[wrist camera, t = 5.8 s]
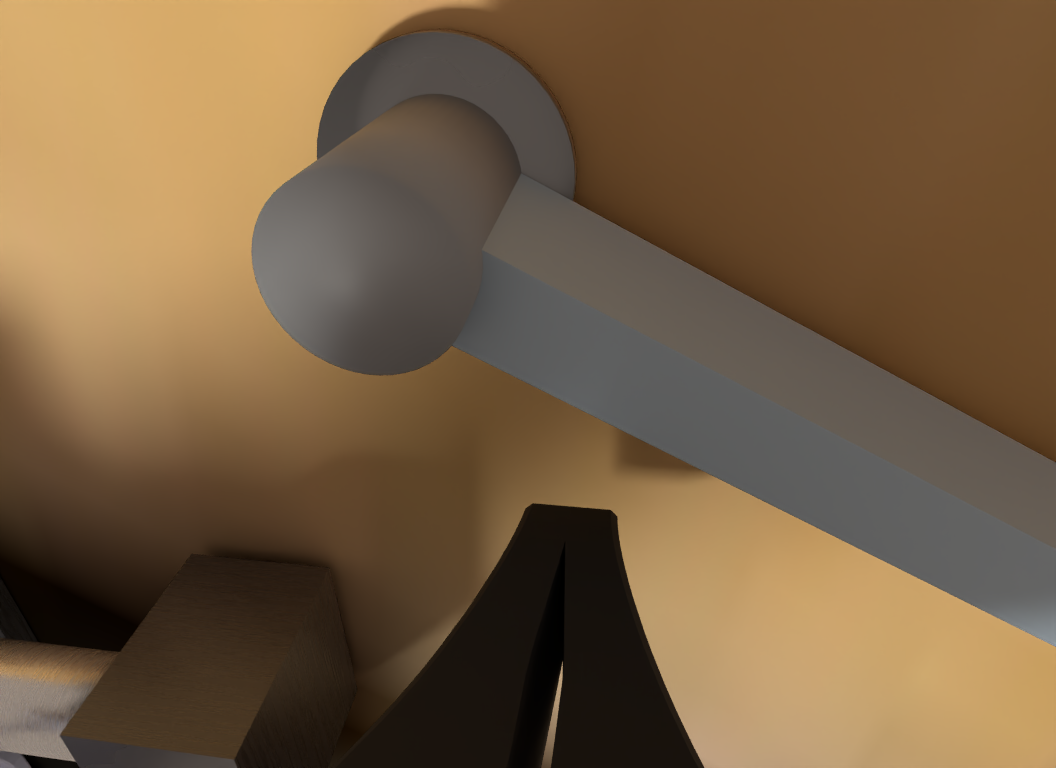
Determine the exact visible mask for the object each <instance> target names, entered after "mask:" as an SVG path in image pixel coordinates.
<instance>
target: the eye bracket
mask: <svg viewBox="0 0 1056 768" xmlns="http://www.w3.org/2000/svg"><path fill="white" fill-rule="evenodd" d="M0 638H7V639H15V640H23V641H31V642H38V641H37V639H36V638H35V636H34V634H33V632H32V631H31V629H30V627H29V626H28V624H27V622H26V620H25V619H24V617H23V615H22V614H21V612H20V610H19V609H18V607H17V605H16V603H15V602H14V600H13V598H12V597H11V595H10V593H9V591H8V590H7V588H6V586H5V585H4V583H3V581H2V579H1V578H0Z"/></svg>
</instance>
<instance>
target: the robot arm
mask: <svg viewBox="0 0 1056 768" xmlns="http://www.w3.org/2000/svg"><path fill="white" fill-rule="evenodd" d="M562 661H563V680H562V688H561V696H560V703H559V711H558V719H557V727H556V734H555V742H554V749H553V756H552V764H551V768H704V766H703V764H702V762H701V760H700V758H699V756H698V754H697V753H696V751H695V749H694V747H693V745H692V743H691V740H690V738H689V736H688V734H687V732H686V730H685V728H684V726H683V724H682V722H681V720H680V718H679V715H678V713H677V711H676V709H675V707H674V704H673V702H672V700H671V698H670V695H669V693H668V691H667V688H666V686H665V684H664V681H663V679H662V676H661V674H660V671H659V669H658V666H657V664H656V661H655V659H654V656H653V654H652V651H651V649H650V646H649V643H648V641H647V638H646V635H645V632H644V629H643V626H642V623H641V620H640V617H639V614H638V611H637V608H636V605H635V602H634V599H633V596H632V592H631V589H630V585H629V582H628V578H627V574H626V570H625V566H624V562H623V557H622V552H621V548H620V541H619V534H618V524H617V516H616V515H615V514H614V513H613V512H612V511H611V510H604V509H592V508H581V507H569V506H557V505H545V504H534V503H533V504H531V505H530V506H528V507H527V508H526V509H525V511H524V514H523V516H522V518H521V521H520V523H519V525H518V527H517V529H516V531H515V533H514V535H513V537H512V539H511V540H510V542H509V544H508V546H507V548H506V549H505V551H504V553H503V555H502V556H501V558H500V560H499V561H498V563H497V565H496V567H495V568H494V570H493V571H492V573H491V574H490V576H489V578H488V579H487V581H486V582H485V584H484V585H483V587H482V588H481V590H480V591H479V593H478V595H477V596H476V598H475V599H474V601H473V602H472V604H471V605H470V607H469V608H468V610H467V611H466V612H465V614H464V615H463V616H462V618H461V619H460V621H459V622H458V623H457V625H456V626H455V627H454V629H453V630H452V631H451V633H450V634H449V635H448V637H447V638H446V639H445V641H444V642H443V644H442V645H441V646H440V648H439V649H438V650H437V652H436V653H435V654H434V655H433V657H432V658H431V659H430V660H429V662H428V663H427V664H426V665H425V667H424V668H423V669H422V670H421V671H420V673H419V674H418V675H417V676H416V677H415V679H414V680H413V681H412V682H411V683H410V684H409V686H408V687H407V688H406V689H405V690H404V691H403V693H402V694H401V695H400V696H399V697H398V698H397V699H396V701H395V702H394V703H393V704H392V705H391V706H390V707H389V708H388V709H387V711H386V712H385V713H384V714H383V715H382V716H381V717H380V718H379V719H378V720H377V721H376V722H375V723H374V724H373V725H372V726H371V727H370V728H369V730H368V731H367V732H366V733H365V734H364V735H363V736H362V737H361V738H360V739H359V740H358V741H357V742H356V743H355V744H354V745H353V746H352V747H351V748H350V749H349V750H348V751H347V752H346V753H345V754H344V755H343V756H342V757H341V758H340V759H339V760H338V761H337V762H336V763H335V764H334V765H333V766H332V767H331V768H541V765H542V760H543V755H544V751H545V746H546V741H547V736H548V731H549V726H550V721H551V716H552V711H553V706H554V701H555V696H556V691H557V686H558V681H559V676H560V671H561V666H562ZM0 768H32V767H31V766H30V765H29V763H28V762H27V760H26V759H25V757H24V756H23V755H22V754H19V753H12V752H5V751H0Z"/></svg>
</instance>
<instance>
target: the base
mask: <svg viewBox="0 0 1056 768" xmlns="http://www.w3.org/2000/svg"><path fill="white" fill-rule="evenodd" d="M425 94H445V95H450V96H455V97H458V98H461V99H464V100H466V101H469V102H471V103H473V104H475V105H476V106H478V107H479V108H481V109H483V110H484V111H485V112H487V113H488V114H489V115H490V116H491V117H493V118H494V119H495V120H496V122H497V123H498V124H499V125H500V126H501V127H502V128H503V130H504V131H505V132H506V134H507V135H508V137H509V139H510V140H511V142H512V144H513V146H514V148H515V151H516V153H517V156H518V159H519V163H520V167H521V173H522V174H524V175H526V176H527V177H529V178H531V179H533V180H535V181H537V182H538V183H540V184H542V185H544V186H546V187H548V188H550V189H551V190H553V191H555V192H557V193H559V194H561V195H562V196H564V197H566V198H568V199H570V200H572V201H573V199H574V195H575V189H576V178H577V168H576V154H575V148H574V143H573V138H572V135H571V132H570V128H569V125H568V122H567V120H566V118H565V115H564V113H563V111H562V109H561V107H560V105H559V103H558V101H557V100H556V98H555V97H554V95H553V93H552V92H551V90H550V89H549V87H548V86H547V85H546V84H545V83H544V81H543V80H542V79H541V78H540V76H539V75H538V74H537V73H536V72H535V71H534V70H533V69H532V68H531V67H530V66H529V65H527V64H526V63H525V62H524V61H523V60H522V59H520V58H519V57H518V56H516V55H515V54H513V53H512V52H511V51H509V50H508V49H506V48H504V47H502V46H500V45H498V44H497V43H495V42H493V41H490V40H488V39H485V38H483V37H480V36H477V35H474V34H470V33H466V32H461V31H456V30H443V29H434V30H421V31H416V32H412V33H408V34H403V35H401V36H398V37H396V38H393V39H391V40H388V41H386V42H384V43H382V44H380V45H378V46H376V47H375V48H373V49H371V50H369V51H368V52H366V53H365V54H364V55H362V56H361V57H360V58H359V59H357V60H356V61H355V62H354V63H353V64H352V65H351V66H350V67H349V68H348V69H347V70H346V71H345V73H344V74H343V75H342V76H341V77H340V79H339V80H338V82H337V83H336V85H335V87H334V88H333V90H332V91H331V94H330V96H329V98H328V100H327V102H326V105H325V107H324V110H323V114H322V117H321V121H320V125H319V132H318V138H317V160H318V159H320V158H321V157H322V156H324V155H325V154H327V153H328V152H329V151H331V150H332V149H334V148H335V147H337V146H338V145H339V144H341V143H342V142H344V141H345V140H346V139H348V138H349V137H351V136H352V135H354V134H355V133H356V132H358V131H359V130H361V129H362V128H363V127H365V126H366V125H368V124H369V123H371V122H372V121H373V120H375V119H376V118H378V117H379V116H380V115H382V114H383V113H385V112H386V111H388V110H389V109H390V108H392V107H393V106H395V105H396V104H398V103H400V102H402V101H404V100H406V99H408V98H411V97H415V96H418V95H425Z"/></svg>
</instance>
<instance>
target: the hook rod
mask: <svg viewBox="0 0 1056 768" xmlns="http://www.w3.org/2000/svg"><path fill="white" fill-rule="evenodd" d="M356 692H357V685H356V681H355V677H354V672H353V668H352V664H351V659H350V655H349V650H348V646H347V642H346V637H345V633H344V629H343V624H342V620H341V616H340V611H339V607H338V603H337V598H336V594H335V589H334V585H333V581H332V576H331V572H330V568H325V567H315V566H306V565H296V564H286V563H276V562H266V561H256V560H247V559H237V558H227V557H217V556H207V555H198V554H191V555H190V557H189V558H188V559H187V561H186V562H185V564H184V565H183V566H182V568H181V569H180V570H179V572H178V573H177V575H176V576H175V577H174V579H173V580H172V581H171V583H170V584H169V586H168V587H167V588H166V590H165V591H164V592H163V594H162V595H161V597H160V598H159V599H158V601H157V602H156V603H155V605H154V606H153V607H152V609H151V610H150V612H149V613H148V614H147V616H146V617H145V618H144V620H143V621H142V623H141V624H140V625H139V627H138V628H137V629H136V631H135V632H134V634H133V635H132V636H131V638H130V639H129V640H128V642H127V643H126V645H125V646H124V647H123V649H122V650H121V651H120V652H113V651H105V650H97V649H88V648H80V647H72V646H64V645H56V644H47V643H39V642H31V641H23V640H15V639H7V638H0V751H5V752H12V753H19V754H26V755H33V756H40V757H47V758H54V759H61V760H68V761H75V762H76V763H77V764H78V766H79V767H80V768H328V765H329V763H330V760H331V758H332V755H333V752H334V750H335V747H336V744H337V742H338V739H339V737H340V734H341V731H342V729H343V726H344V724H345V721H346V718H347V716H348V713H349V711H350V708H351V705H352V703H353V700H354V697H355V695H356Z"/></svg>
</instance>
